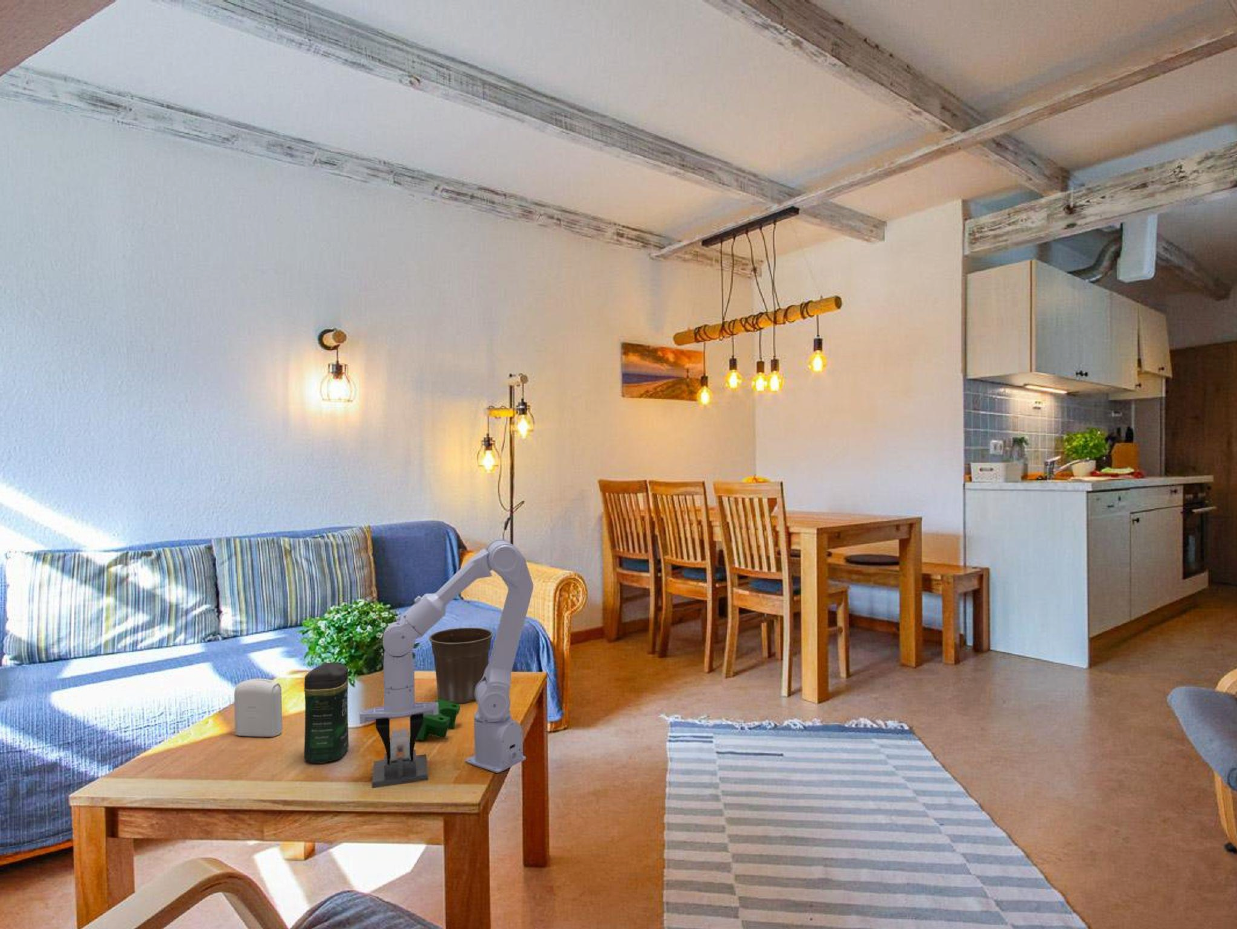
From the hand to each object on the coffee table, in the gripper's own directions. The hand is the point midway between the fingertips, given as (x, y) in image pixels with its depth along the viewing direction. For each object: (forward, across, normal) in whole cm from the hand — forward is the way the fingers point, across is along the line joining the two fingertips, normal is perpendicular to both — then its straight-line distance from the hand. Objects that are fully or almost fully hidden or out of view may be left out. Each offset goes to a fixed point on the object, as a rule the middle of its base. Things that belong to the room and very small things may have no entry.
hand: (400, 755), depth 135 cm
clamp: (+4, -8, -19) cm, 21 cm away
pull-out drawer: (+2, 0, 0) cm, 2 cm away
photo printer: (+4, +30, -32) cm, 44 cm away
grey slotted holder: (+3, 0, 0) cm, 3 cm away
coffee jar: (+4, +14, -14) cm, 21 cm away
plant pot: (+4, -15, -43) cm, 46 cm away
